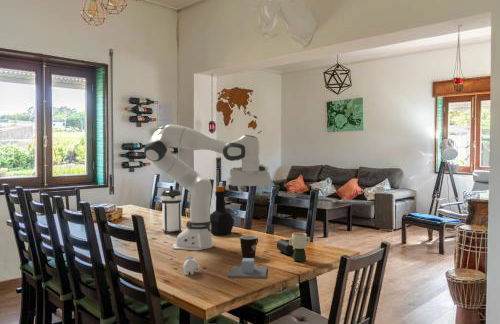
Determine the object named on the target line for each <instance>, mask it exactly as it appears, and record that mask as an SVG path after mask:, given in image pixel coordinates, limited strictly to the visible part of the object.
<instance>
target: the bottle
mask: <svg viewBox="0 0 500 324" xmlns="http://www.w3.org/2000/svg"><path fill="white" fill-rule="evenodd" d="M214 194H215V195H214V196H215V197H216V199H215V210H214V211H212V212H210V221H211V235H212V236H227V235H230V234H231V233H232V230H233V228H234V225H235V222H234V221H235V218H233V216H232V214H231V213H230V212H229V211H227V210H226V200H225V196H226V191H225V186H224V185H217V186H215V191H214Z"/></svg>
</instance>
